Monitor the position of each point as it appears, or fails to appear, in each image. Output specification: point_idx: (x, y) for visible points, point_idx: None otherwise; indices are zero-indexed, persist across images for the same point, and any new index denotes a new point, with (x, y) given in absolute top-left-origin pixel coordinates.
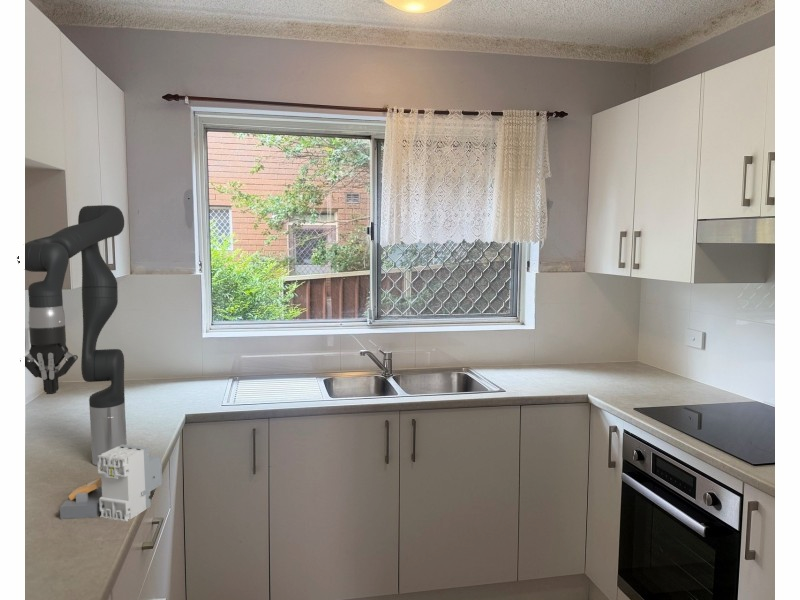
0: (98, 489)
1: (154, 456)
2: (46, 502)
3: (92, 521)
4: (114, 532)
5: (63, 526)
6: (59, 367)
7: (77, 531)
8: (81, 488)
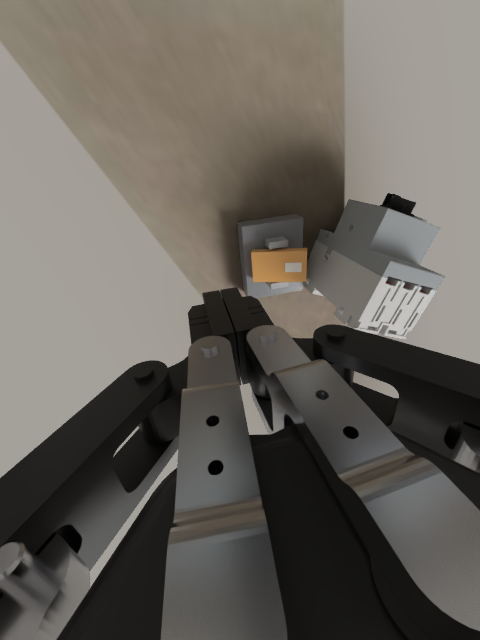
0: (282, 231)
1: (427, 232)
2: (181, 235)
3: (293, 293)
4: (331, 317)
5: None
6: (319, 362)
7: (284, 319)
8: (272, 270)
